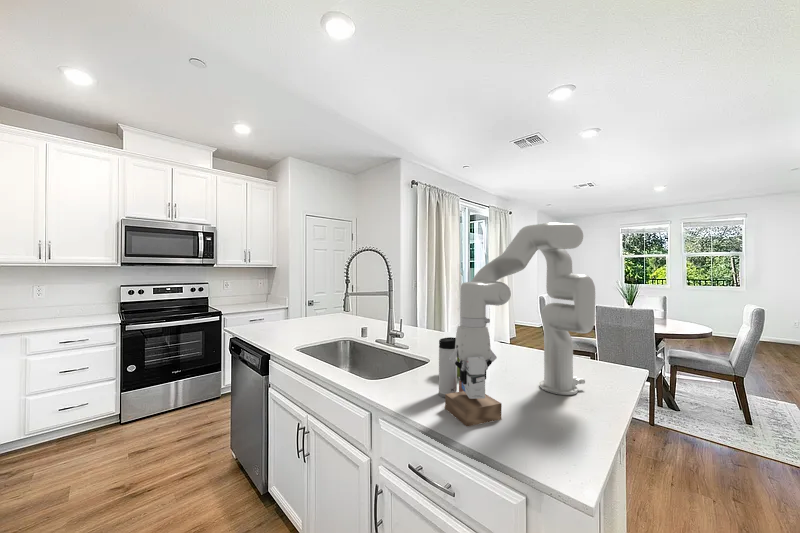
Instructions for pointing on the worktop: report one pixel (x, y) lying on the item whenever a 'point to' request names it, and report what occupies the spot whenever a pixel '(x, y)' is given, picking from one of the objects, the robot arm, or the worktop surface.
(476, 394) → the ink box
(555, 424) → the worktop surface
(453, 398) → the walnut block
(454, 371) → the travel mug
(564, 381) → the robot arm
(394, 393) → the worktop surface
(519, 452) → the worktop surface
